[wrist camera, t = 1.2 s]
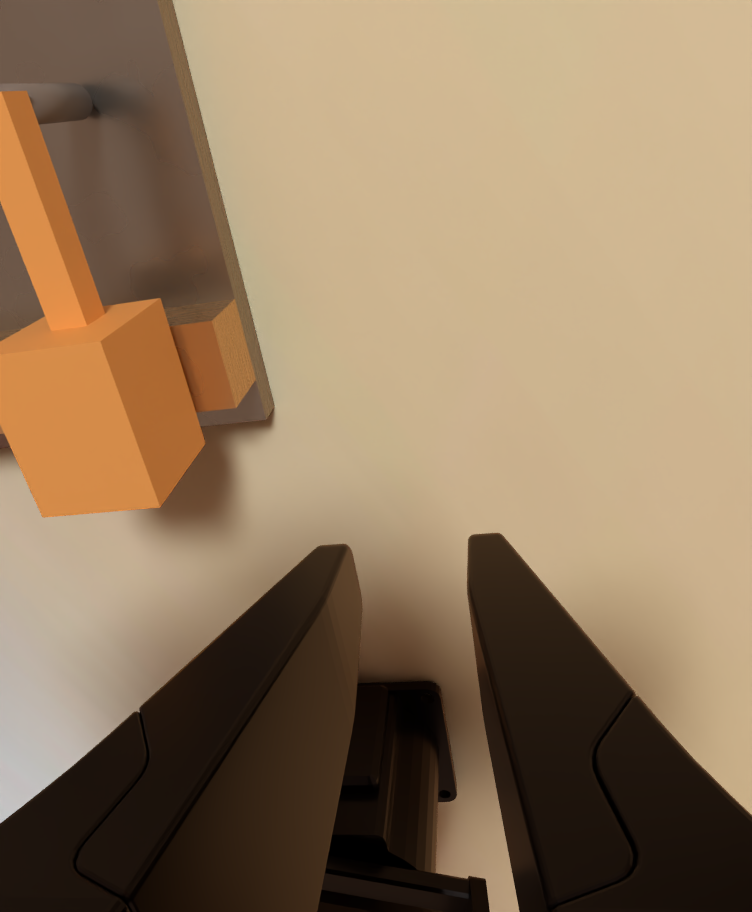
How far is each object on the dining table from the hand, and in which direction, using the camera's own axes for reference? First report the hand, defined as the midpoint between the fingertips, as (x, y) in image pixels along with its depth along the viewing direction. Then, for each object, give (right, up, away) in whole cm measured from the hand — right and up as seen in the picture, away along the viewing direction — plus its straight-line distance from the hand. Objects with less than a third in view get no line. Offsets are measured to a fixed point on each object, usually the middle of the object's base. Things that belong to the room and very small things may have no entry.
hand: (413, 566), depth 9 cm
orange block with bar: (-7, +6, +10) cm, 13 cm away
